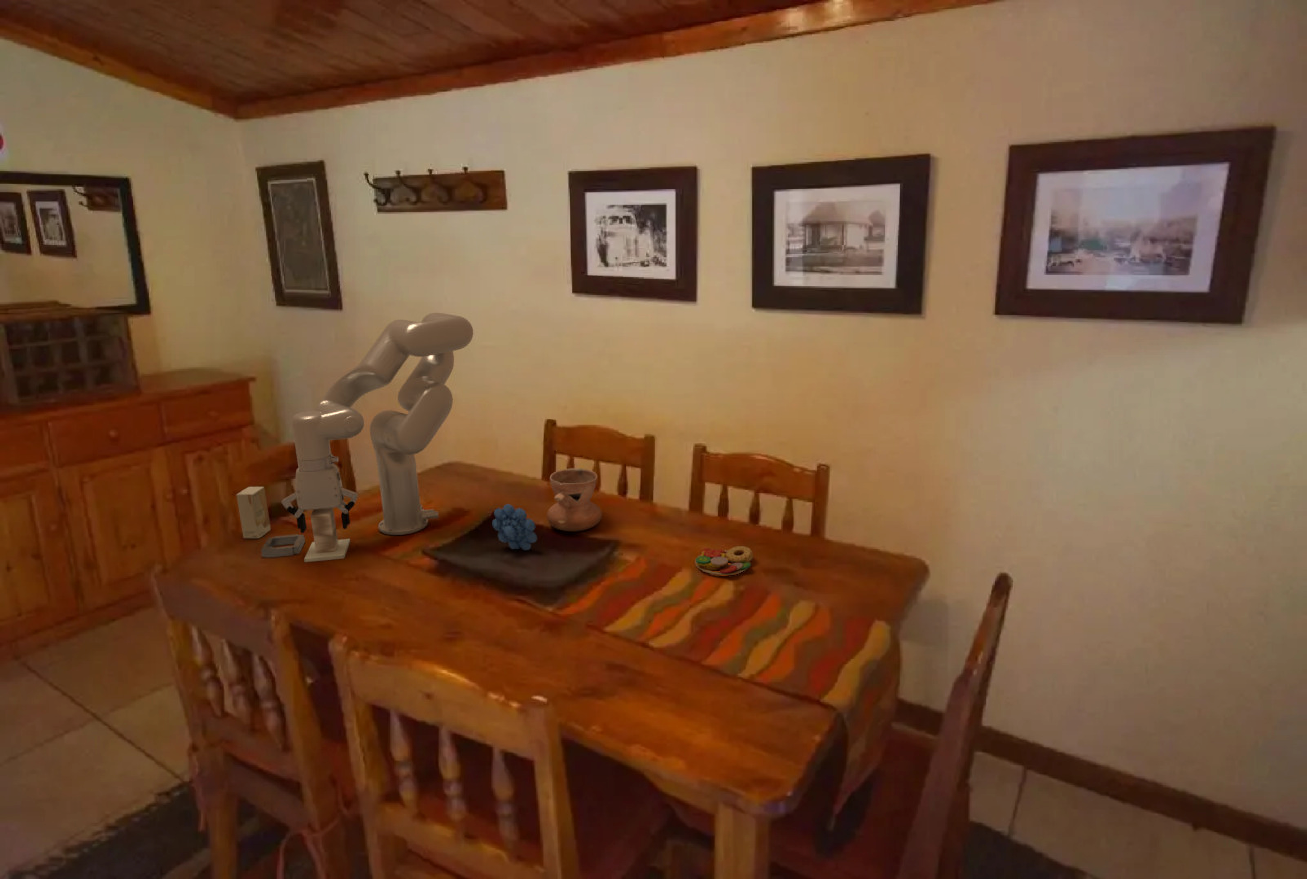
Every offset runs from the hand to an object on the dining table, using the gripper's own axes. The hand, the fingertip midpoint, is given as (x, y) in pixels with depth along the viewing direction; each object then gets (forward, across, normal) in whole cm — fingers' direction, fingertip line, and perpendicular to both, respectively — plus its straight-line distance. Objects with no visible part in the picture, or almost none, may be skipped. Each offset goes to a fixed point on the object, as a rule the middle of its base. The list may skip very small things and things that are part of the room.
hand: (324, 528), depth 189 cm
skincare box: (+6, +20, -16) cm, 26 cm away
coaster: (+6, 0, 0) cm, 6 cm away
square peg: (+5, 0, 0) cm, 5 cm away
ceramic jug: (+6, -62, -2) cm, 62 cm away
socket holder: (+6, +11, -4) cm, 13 cm away
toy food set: (+7, -93, +31) cm, 98 cm away
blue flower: (+6, -45, +11) cm, 47 cm away
